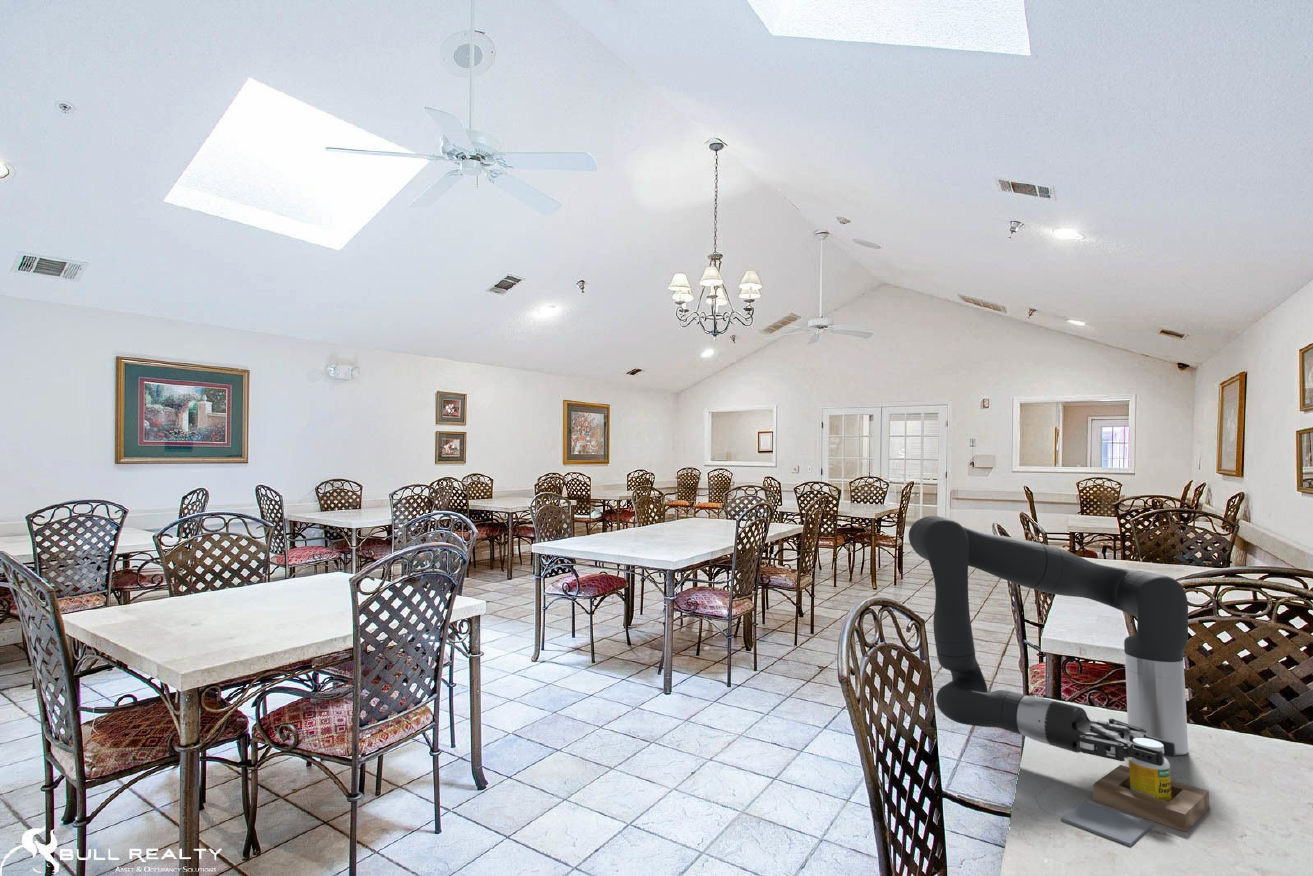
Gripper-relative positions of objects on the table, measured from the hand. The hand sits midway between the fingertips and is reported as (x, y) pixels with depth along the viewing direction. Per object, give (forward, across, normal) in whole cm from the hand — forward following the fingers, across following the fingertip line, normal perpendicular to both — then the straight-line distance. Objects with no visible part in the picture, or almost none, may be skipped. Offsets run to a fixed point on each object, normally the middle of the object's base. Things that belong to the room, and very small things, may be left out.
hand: (1168, 754), depth 103 cm
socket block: (-3, 0, +8) cm, 9 cm away
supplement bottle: (-3, 0, +9) cm, 9 cm away
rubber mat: (-5, -12, +8) cm, 16 cm away
